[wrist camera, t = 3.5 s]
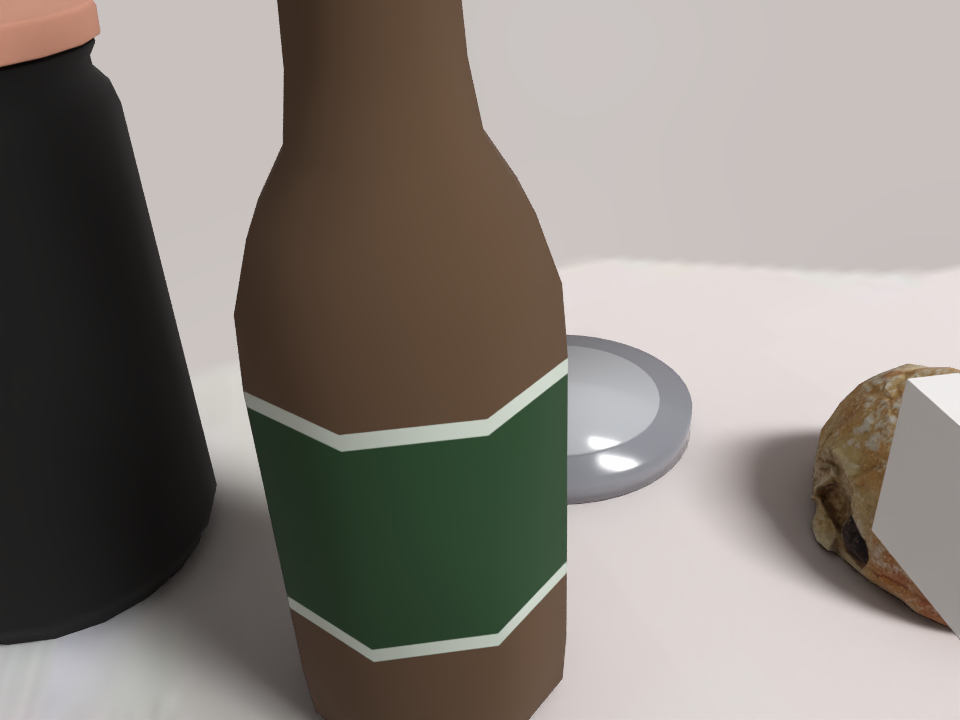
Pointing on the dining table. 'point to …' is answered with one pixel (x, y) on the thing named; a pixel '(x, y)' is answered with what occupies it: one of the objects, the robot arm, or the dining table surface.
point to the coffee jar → (83, 347)
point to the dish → (621, 419)
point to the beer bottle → (406, 377)
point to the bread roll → (864, 481)
